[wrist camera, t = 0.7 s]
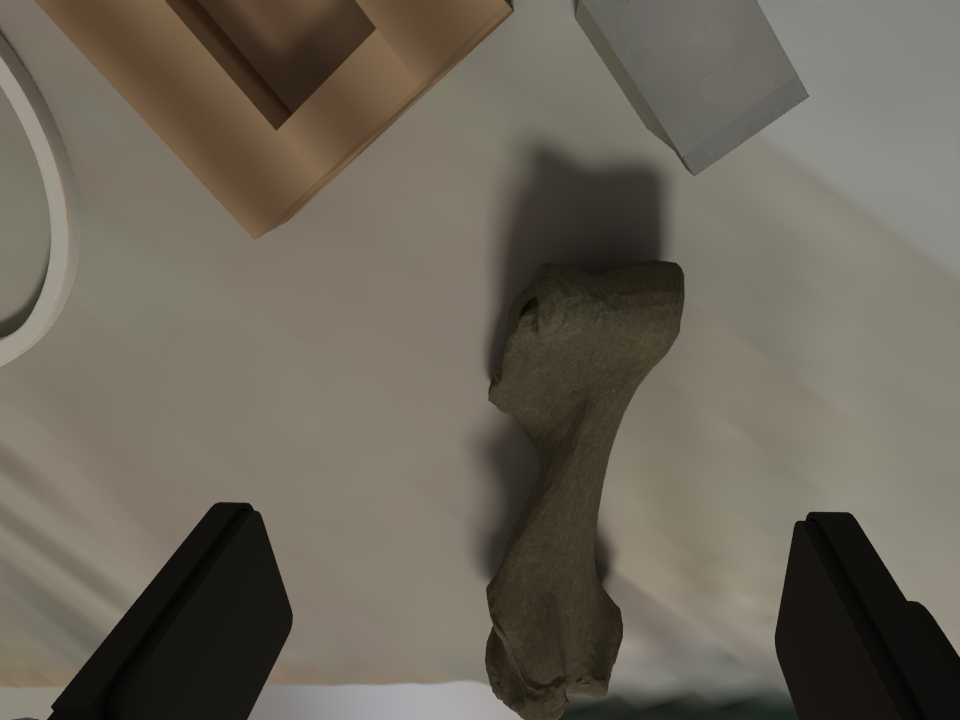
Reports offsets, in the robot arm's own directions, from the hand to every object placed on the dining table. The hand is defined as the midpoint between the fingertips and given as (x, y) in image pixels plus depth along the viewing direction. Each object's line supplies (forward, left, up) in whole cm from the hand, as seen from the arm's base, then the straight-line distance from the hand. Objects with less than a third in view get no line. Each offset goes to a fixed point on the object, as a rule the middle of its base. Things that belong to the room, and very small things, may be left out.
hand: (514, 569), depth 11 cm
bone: (+8, +13, -24) cm, 29 cm away
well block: (+3, -16, -24) cm, 29 cm away
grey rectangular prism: (-9, -4, -24) cm, 26 cm away
